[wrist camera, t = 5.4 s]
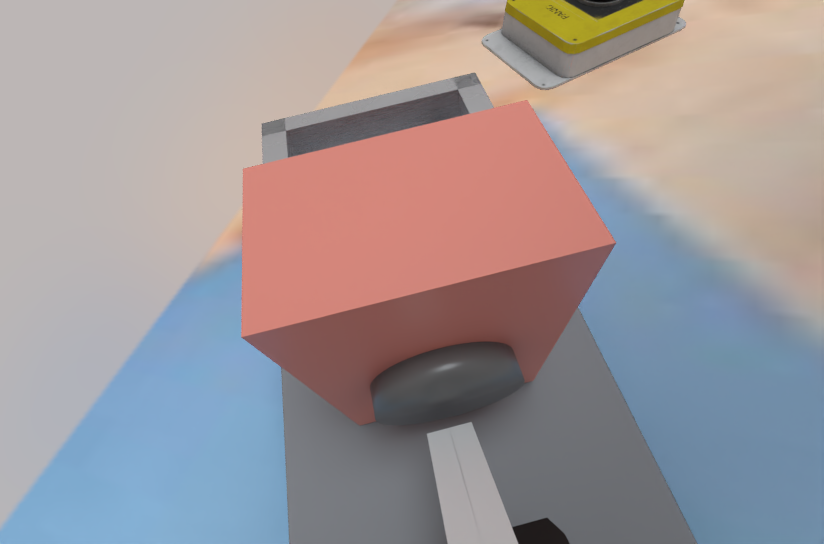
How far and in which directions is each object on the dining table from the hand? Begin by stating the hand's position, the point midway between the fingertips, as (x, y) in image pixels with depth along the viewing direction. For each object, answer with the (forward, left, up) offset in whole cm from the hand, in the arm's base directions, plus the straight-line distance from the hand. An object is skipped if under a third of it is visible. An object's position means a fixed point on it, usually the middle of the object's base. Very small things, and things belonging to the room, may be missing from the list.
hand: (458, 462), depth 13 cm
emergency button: (-20, -30, -6) cm, 36 cm away
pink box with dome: (0, -5, -4) cm, 6 cm away
